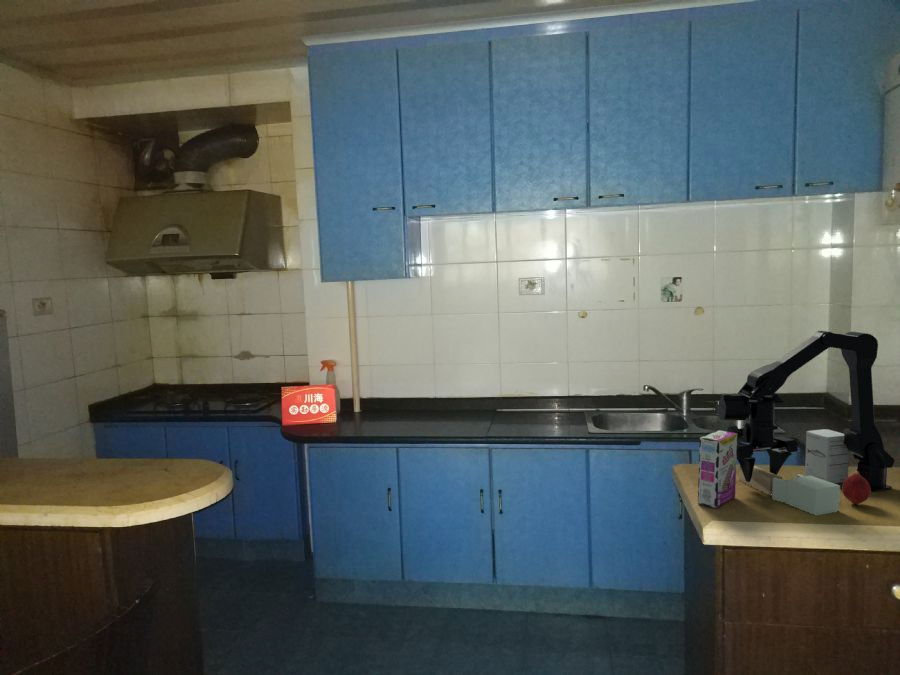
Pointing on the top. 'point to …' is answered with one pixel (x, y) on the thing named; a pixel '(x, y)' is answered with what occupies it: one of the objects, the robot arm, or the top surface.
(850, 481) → the onion
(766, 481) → the oak slat
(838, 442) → the supplement box
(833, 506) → the forked bracket
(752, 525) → the top surface
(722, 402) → the robot arm
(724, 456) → the candy bar box
